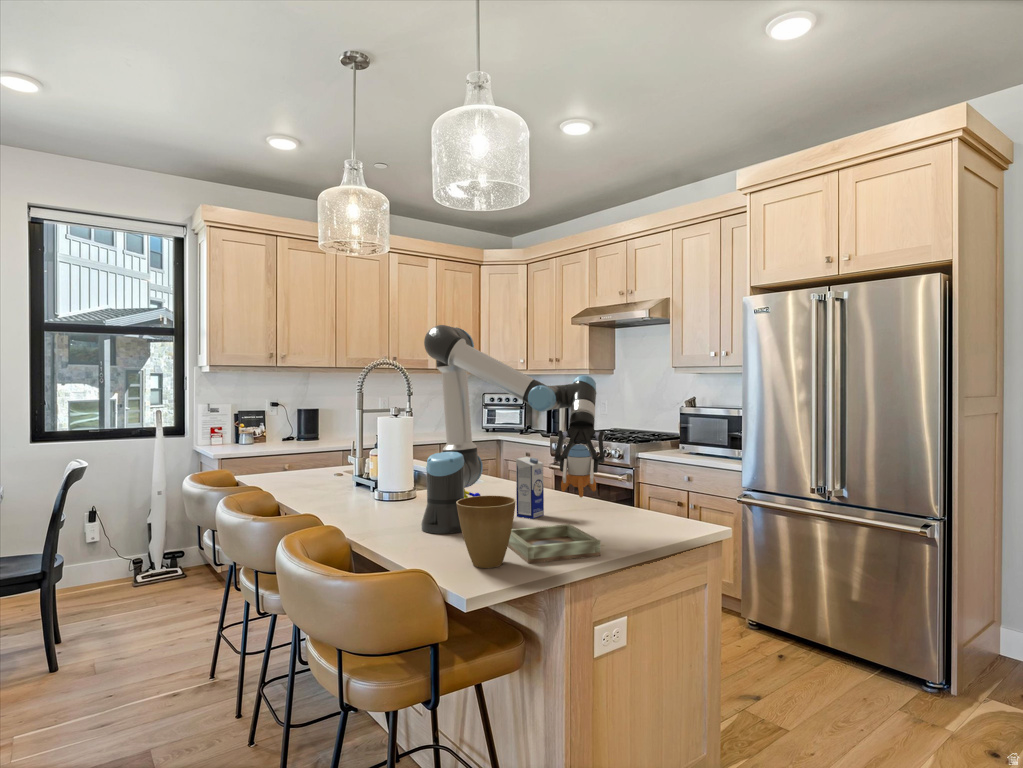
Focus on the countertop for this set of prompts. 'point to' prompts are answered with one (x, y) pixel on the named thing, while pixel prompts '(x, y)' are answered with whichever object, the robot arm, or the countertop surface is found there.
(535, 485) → the milk carton
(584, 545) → the cradle
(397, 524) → the countertop surface
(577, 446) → the toy rocket
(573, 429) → the robot arm
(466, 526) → the plant pot
